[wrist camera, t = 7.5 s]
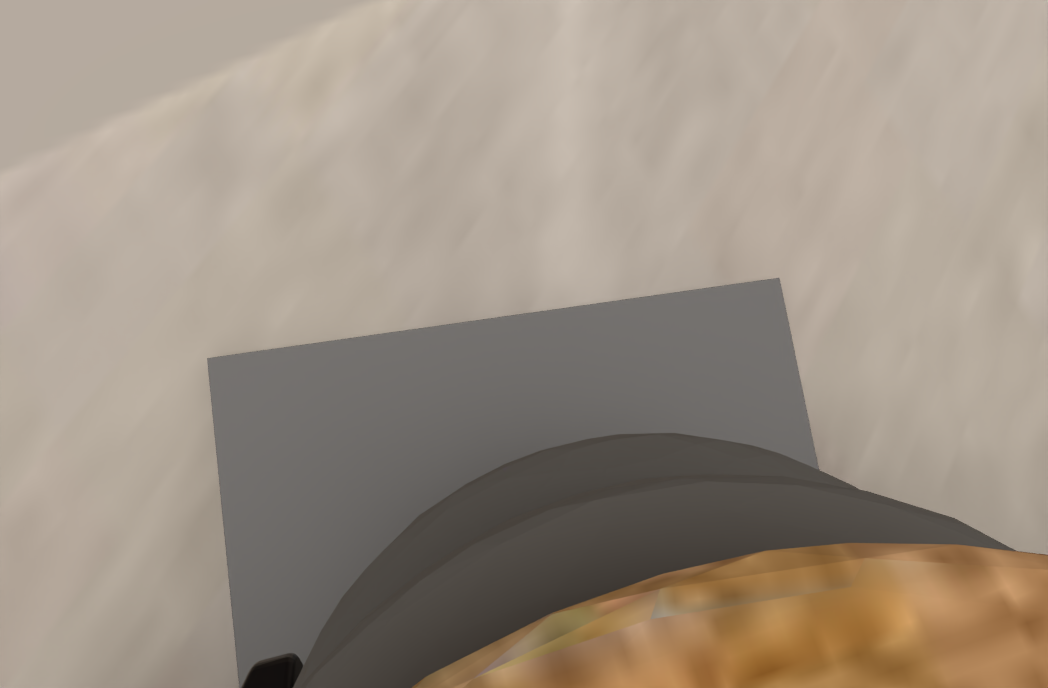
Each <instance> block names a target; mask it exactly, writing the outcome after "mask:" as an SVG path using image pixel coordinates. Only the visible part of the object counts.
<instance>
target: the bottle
mask: <svg viewBox="0 0 1048 688" xmlns="http://www.w3.org/2000/svg"><path fill="white" fill-rule="evenodd" d="M293 688H1048V555H1044V554H1036V553H1027V552H1018V551H1015V550H1013V549H1012V548H1010V547H1008V546H1006V545H1004V544H1002V543H1000V542H998V541H996V540H994V539H993V538H991V537H989V536H987V535H985V534H983V533H981V532H979V531H977V530H976V529H974V528H972V527H970V526H968V525H966V524H964V523H962V522H960V521H959V520H957V519H955V518H952V517H949V516H945V515H942V514H939V513H936V512H932V511H929V510H926V509H923V508H919V507H916V506H913V505H910V504H906V503H903V502H900V501H897V500H893V499H890V498H887V497H884V496H880V495H877V494H874V493H871V492H867V491H862V490H859V489H857V488H856V487H854V486H852V485H850V484H848V483H846V482H843V481H841V480H839V479H837V478H835V477H833V476H830V475H828V474H826V473H824V472H822V471H820V470H817V469H815V468H813V467H811V466H809V465H806V464H804V463H801V462H799V461H797V460H794V459H792V458H790V457H787V456H785V455H782V454H780V453H777V452H773V451H770V450H766V449H763V448H760V447H756V446H753V445H748V444H742V443H736V442H731V441H725V440H719V439H712V438H705V437H699V436H692V435H685V434H678V433H646V434H616V435H610V436H603V437H597V438H590V439H585V440H581V441H577V442H573V443H569V444H565V445H561V446H557V447H553V448H548V449H544V450H540V451H538V452H535V453H532V454H530V455H527V456H525V457H522V458H519V459H517V460H514V461H511V462H509V463H506V464H504V465H502V466H500V467H498V468H496V469H494V470H492V471H490V472H488V473H486V474H484V475H482V476H480V477H478V478H477V479H475V480H473V481H471V482H469V483H467V484H465V485H464V486H462V487H461V488H459V489H458V490H456V491H455V492H453V493H452V494H450V495H449V496H447V497H446V498H444V499H443V500H441V501H440V502H438V503H437V504H435V505H434V506H432V507H431V508H429V509H428V510H426V511H425V512H423V513H422V514H420V515H419V516H418V517H417V518H416V519H415V520H414V521H413V522H412V523H411V524H410V525H409V526H408V527H407V528H406V529H405V530H404V531H403V532H402V533H401V534H400V535H399V536H398V537H397V538H396V539H395V540H394V541H393V542H391V543H390V544H389V545H388V546H387V547H386V548H385V549H384V550H383V551H382V552H381V553H380V554H379V555H378V556H377V557H376V559H375V560H374V561H373V562H372V563H371V564H370V565H369V566H368V567H367V568H366V569H365V570H364V571H363V573H362V574H361V575H360V576H359V577H358V579H357V580H356V581H355V582H354V583H353V585H352V586H351V587H350V588H349V589H348V591H347V592H346V593H345V594H344V595H343V597H342V598H341V600H340V602H339V603H338V605H337V606H336V608H335V609H334V611H333V613H332V614H331V616H330V617H329V619H328V621H327V622H326V624H325V625H324V627H323V628H322V630H321V632H320V634H319V636H318V638H317V640H316V642H315V644H314V646H313V648H312V650H311V652H310V654H309V656H308V658H307V660H306V662H305V664H304V666H303V668H302V670H301V672H300V674H299V676H298V678H297V680H296V682H295V684H294V686H293Z"/></svg>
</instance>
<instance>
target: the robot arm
mask: <svg viewBox="0 0 1048 688" xmlns="http://www.w3.org/2000/svg"><path fill="white" fill-rule="evenodd" d="M302 668H303V664H302V662H301V660H300V658H299V657H298V656H297V655H296V654H294V653H287V654H283V655H279V656H275V657H271V658H267V659H263V660H260V661H258V662H256V663H255V664H254V665H253V666H252V667H251V669H250V671H249V672H248V674H247V676H246V679H245V681H244V683H243V685H242V687H241V688H293V686H294V684H295V682H296V680H297V678H298V676H299V674H300V672H301V670H302Z"/></svg>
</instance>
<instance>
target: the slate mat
mask: <svg viewBox="0 0 1048 688" xmlns="http://www.w3.org/2000/svg"><path fill="white" fill-rule="evenodd" d="M207 361H208V372H209V382H210V392H211V402H212V412H213V423H214V433H215V443H216V453H217V463H218V474H219V484H220V494H221V504H222V514H223V525H224V535H225V545H226V555H227V565H228V576H229V586H230V596H231V606H232V616H233V627H234V637H235V647H236V657H237V667H238V678H239V688H241V687H242V685H243V683H244V681H245V679H246V676H247V674H248V672H249V671H250V669H251V667H252V666H253V665H254V664H255V663H256V662H258V661H260V660H263V659H267V658H271V657H275V656H279V655H283V654H287V653H294V654H296V655H297V656H298V657H299V658H300V660H301V662H302V664H303V666H304V664H305V662H306V660H307V658H308V656H309V654H310V652H311V650H312V648H313V646H314V644H315V642H316V640H317V638H318V636H319V634H320V632H321V630H322V628H323V627H324V625H325V624H326V622H327V621H328V619H329V617H330V616H331V614H332V613H333V611H334V609H335V608H336V606H337V605H338V603H339V602H340V600H341V598H342V597H343V595H344V594H345V593H346V592H347V591H348V589H349V588H350V587H351V586H352V585H353V583H354V582H355V581H356V580H357V579H358V577H359V576H360V575H361V574H362V573H363V571H364V570H365V569H366V568H367V567H368V566H369V565H370V564H371V563H372V562H373V561H374V560H375V559H376V557H377V556H378V555H379V554H380V553H381V552H382V551H383V550H384V549H385V548H386V547H387V546H388V545H389V544H390V543H391V542H393V541H394V540H395V539H396V538H397V537H398V536H399V535H400V534H401V533H402V532H403V531H404V530H405V529H406V528H407V527H408V526H409V525H410V524H411V523H412V522H413V521H414V520H415V519H416V518H417V517H418V516H419V515H420V514H422V513H423V512H425V511H426V510H428V509H429V508H431V507H432V506H434V505H435V504H437V503H438V502H440V501H441V500H443V499H444V498H446V497H447V496H449V495H450V494H452V493H453V492H455V491H456V490H458V489H459V488H461V487H462V486H464V485H465V484H467V483H469V482H471V481H473V480H475V479H477V478H478V477H480V476H482V475H484V474H486V473H488V472H490V471H492V470H494V469H496V468H498V467H500V466H502V465H504V464H506V463H509V462H511V461H514V460H517V459H519V458H522V457H525V456H527V455H530V454H532V453H535V452H538V451H540V450H544V449H548V448H553V447H557V446H561V445H565V444H569V443H573V442H577V441H581V440H585V439H590V438H597V437H603V436H610V435H616V434H646V433H678V434H685V435H692V436H699V437H705V438H712V439H719V440H725V441H731V442H736V443H742V444H748V445H753V446H756V447H760V448H763V449H766V450H770V451H773V452H777V453H780V454H782V455H785V456H787V457H790V458H792V459H794V460H797V461H799V462H801V463H804V464H806V465H809V466H811V467H813V468H815V469H817V470H819V468H818V463H817V458H816V453H815V448H814V443H813V439H812V434H811V429H810V424H809V419H808V414H807V410H806V405H805V400H804V395H803V390H802V385H801V381H800V376H799V371H798V366H797V361H796V356H795V351H794V347H793V342H792V337H791V332H790V327H789V322H788V318H787V313H786V308H785V303H784V298H783V293H782V289H781V284H780V279H779V278H775V279H768V280H761V281H754V282H747V283H739V284H732V285H725V286H718V287H711V288H704V289H697V290H690V291H683V292H675V293H668V294H661V295H654V296H647V297H640V298H633V299H626V300H619V301H611V302H604V303H597V304H590V305H583V306H576V307H569V308H562V309H555V310H547V311H540V312H533V313H526V314H519V315H512V316H505V317H498V318H491V319H483V320H476V321H469V322H462V323H455V324H448V325H441V326H434V327H427V328H419V329H412V330H405V331H398V332H391V333H384V334H377V335H370V336H363V337H355V338H348V339H341V340H334V341H327V342H320V343H313V344H306V345H299V346H291V347H284V348H277V349H270V350H263V351H256V352H249V353H242V354H235V355H227V356H220V357H213V358H207Z"/></svg>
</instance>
